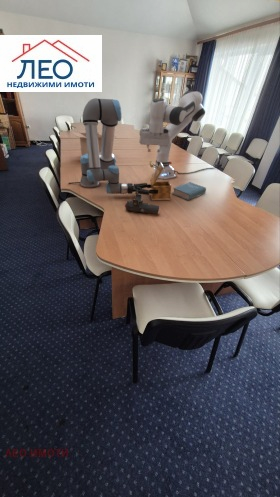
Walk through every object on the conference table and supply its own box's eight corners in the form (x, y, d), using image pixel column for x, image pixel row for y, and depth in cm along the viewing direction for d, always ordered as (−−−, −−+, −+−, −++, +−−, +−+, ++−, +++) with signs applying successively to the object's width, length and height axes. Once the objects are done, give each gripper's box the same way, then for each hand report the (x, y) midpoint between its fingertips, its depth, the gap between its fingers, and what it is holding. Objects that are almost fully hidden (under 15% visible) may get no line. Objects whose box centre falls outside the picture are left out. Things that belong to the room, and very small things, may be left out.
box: (116, 165, 229) (116, 136, 213) (83, 168, 214) (80, 137, 198) (102, 154, 259) (101, 128, 243) (71, 156, 244) (68, 129, 228)
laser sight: (156, 217, 143) (158, 203, 137) (123, 212, 146) (123, 198, 140) (159, 211, 151) (160, 197, 145) (127, 206, 154) (127, 192, 148)
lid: (161, 163, 159) (151, 157, 156) (164, 167, 151) (153, 161, 148) (151, 181, 166) (141, 175, 163) (153, 186, 158) (142, 180, 155)
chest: (167, 194, 174) (168, 181, 167) (170, 199, 166) (171, 186, 159) (150, 194, 173) (150, 181, 166) (151, 200, 165) (152, 186, 159)
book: (188, 187, 190) (190, 182, 187) (205, 193, 181) (206, 187, 178) (172, 193, 177) (173, 187, 174) (188, 200, 168) (190, 194, 165)
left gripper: (126, 187, 174) (153, 188, 176) (128, 199, 155) (158, 199, 158) (126, 178, 169) (154, 178, 172) (128, 189, 151) (160, 189, 154)
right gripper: (140, 129, 137) (139, 152, 145) (172, 130, 140) (169, 153, 148) (139, 127, 142) (138, 150, 150) (170, 129, 145) (167, 151, 153)
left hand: (156, 188), depth 165 cm, fingers closed on chest, 10 cm apart
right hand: (153, 152), depth 149 cm, fingers open, 5 cm apart
